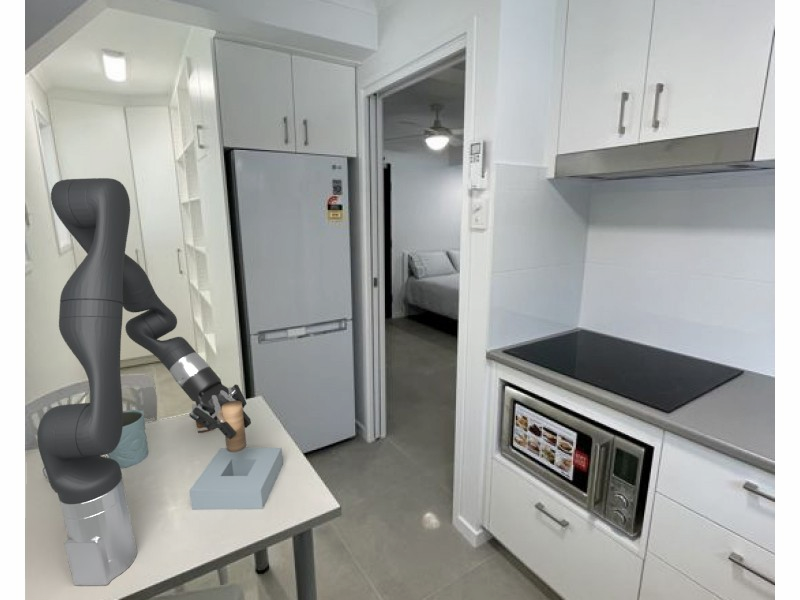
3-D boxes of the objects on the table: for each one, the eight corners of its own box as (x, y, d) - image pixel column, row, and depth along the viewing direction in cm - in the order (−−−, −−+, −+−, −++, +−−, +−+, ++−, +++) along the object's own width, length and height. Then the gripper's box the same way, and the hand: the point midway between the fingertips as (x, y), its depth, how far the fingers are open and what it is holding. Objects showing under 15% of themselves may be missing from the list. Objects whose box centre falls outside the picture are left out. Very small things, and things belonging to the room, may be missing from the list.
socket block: (262, 508, 90) (260, 489, 89) (192, 509, 90) (189, 490, 89) (283, 464, 106) (281, 447, 105) (222, 464, 106) (220, 447, 105)
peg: (242, 452, 94) (237, 409, 91) (223, 452, 94) (218, 409, 91) (249, 441, 98) (244, 400, 95) (231, 441, 98) (226, 400, 95)
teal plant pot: (146, 464, 106) (139, 424, 103) (101, 474, 103) (92, 432, 100) (153, 444, 115) (147, 406, 113) (112, 452, 112) (104, 413, 109)
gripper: (176, 379, 87) (226, 439, 86) (225, 356, 100) (269, 408, 99) (162, 398, 90) (210, 456, 89) (211, 373, 103) (253, 423, 102)
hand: (241, 430), depth 94 cm, fingers closed on peg, 4 cm apart
